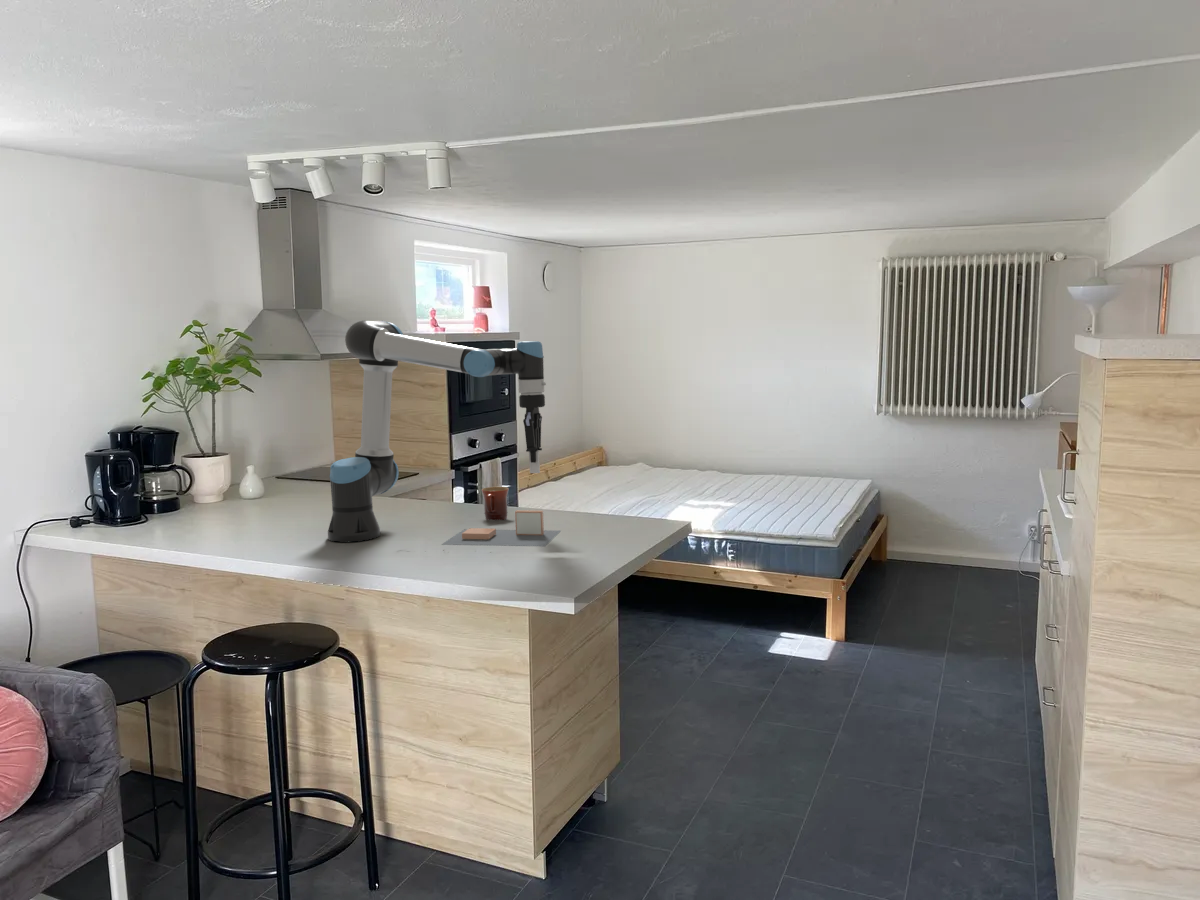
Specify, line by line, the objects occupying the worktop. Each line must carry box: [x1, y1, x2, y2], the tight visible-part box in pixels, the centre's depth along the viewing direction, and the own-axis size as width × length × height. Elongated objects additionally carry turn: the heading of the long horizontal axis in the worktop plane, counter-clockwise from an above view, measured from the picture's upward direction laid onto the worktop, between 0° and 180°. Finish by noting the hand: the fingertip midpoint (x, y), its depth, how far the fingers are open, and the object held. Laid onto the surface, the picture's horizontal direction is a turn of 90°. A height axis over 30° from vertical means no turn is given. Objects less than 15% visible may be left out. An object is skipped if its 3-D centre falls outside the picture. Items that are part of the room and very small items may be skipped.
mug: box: [481, 486, 509, 521], centre depth 281 cm, size 12×9×10 cm
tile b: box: [514, 509, 545, 535], centre depth 255 cm, size 8×2×7 cm, turn 80°
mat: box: [441, 528, 561, 547], centre depth 252 cm, size 30×20×1 cm, turn 80°
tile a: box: [462, 527, 497, 540], centre depth 253 cm, size 8×2×7 cm
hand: (534, 472), depth 261 cm, fingers closed
